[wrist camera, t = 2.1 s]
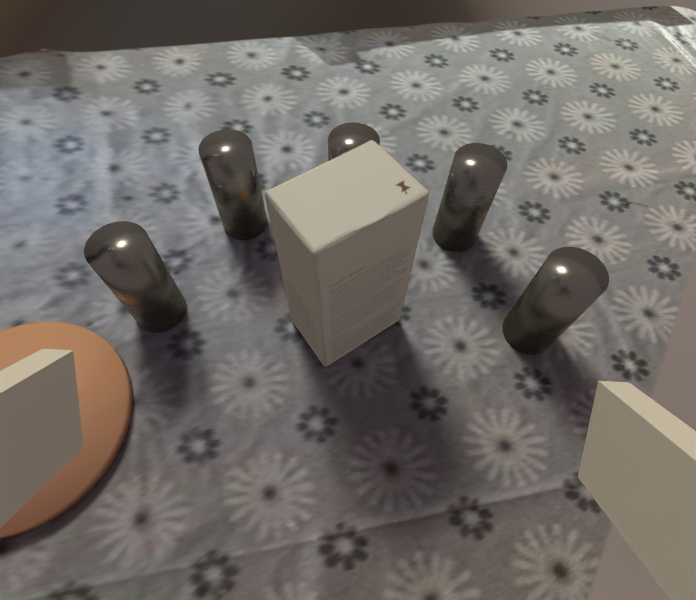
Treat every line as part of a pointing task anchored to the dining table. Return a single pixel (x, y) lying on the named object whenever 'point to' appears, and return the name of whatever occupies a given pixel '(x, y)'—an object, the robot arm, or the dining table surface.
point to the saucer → (95, 412)
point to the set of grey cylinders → (242, 177)
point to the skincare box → (347, 246)
